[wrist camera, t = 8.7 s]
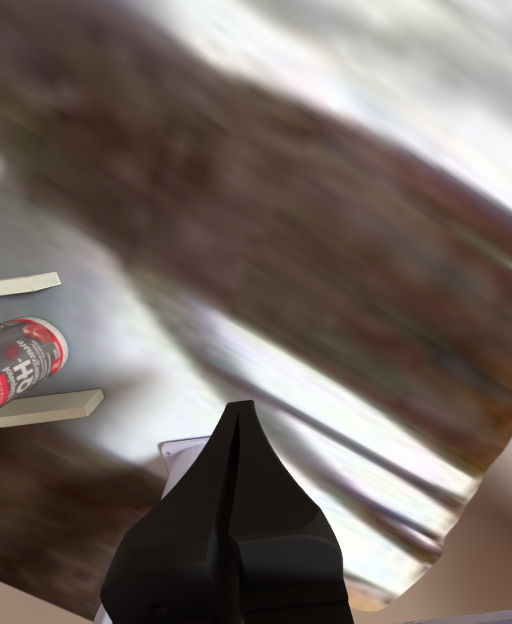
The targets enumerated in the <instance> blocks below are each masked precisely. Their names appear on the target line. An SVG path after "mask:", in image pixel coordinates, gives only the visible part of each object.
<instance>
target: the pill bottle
mask: <svg viewBox="0 0 512 624" xmlns="http://www.w3.org/2000/svg"><path fill="white" fill-rule="evenodd" d="M67 357H68V347H67V343H66V341H65V339H64V337H63V336H62V334H61V333H60V332H59V331H58V330H57V329H56V328H55V327H54V326H53V325H51V324H50V323H48V322H46V321H44V320H42V319H39V318H32V317H22V318H18V319H15V320H12V321H9V322H6V323H2V324H0V408H2V407H3V406H5V405H6V404H8V403H9V402H11V401H12V400H14V399H15V398H17V397H18V396H20V395H22V394H23V393H25V392H26V391H28V390H29V389H31V388H33V387H34V386H36V385H37V384H38V383H40V382H42V381H43V380H45V379H46V378H48V377H50V376H51V375H52V374H54V373H55V372H57V371H58V370H60V369H61V368H62V367H63V366H64V364H65V362H66V360H67Z"/></svg>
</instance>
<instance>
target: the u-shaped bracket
mask: <svg viewBox="0 0 512 624" xmlns="http://www.w3.org/2000/svg"><path fill="white" fill-rule="evenodd" d="M59 284H61V283H60V280H59V277H58V275H57V272H50V273H43V274H35V275H28V276H20V277H12V278H5V279H0V295H8V294H16V293H23V292H31V291H37V290H40V289H44V288H48V287H52V286H56V285H59ZM104 398H105V397H104V395H103V392H102V389H94V390H87V391H79V392H71V393H63V394H55V395H47V396H39V397H31V398H23V399H16V400H12V401H11V402H9V403H8V404H6V405H5V406H3V407H2V408H0V428H1V427H9V426H17V425H25V424H33V423H41V422H49V421H57V420H65V419H73V418H81V417H88V416H89V415H90V414H91V412H92V411H93V410H94V409H95V408H96V407H97V406H98V404H99V403H100V402H101V401H102V400H103V399H104Z"/></svg>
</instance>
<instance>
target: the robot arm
mask: <svg viewBox="0 0 512 624" xmlns="http://www.w3.org/2000/svg"><path fill="white" fill-rule="evenodd" d="M161 451H162V454H163V457H164V460H165V463H166V466H167V469H168V473H169V477H168V480H167V483H166V486H165V489H164V492H163V495H162V498H161V501H160V502H159V503H158V504H157V505H156V506H155V507H154V508H153V509H152V510H151V511H150V512H149V513H148V514H146V515H145V516H144V517H143V518H142V519H141V520H140V521H139V522H138V523H136V524H135V525H134V526H133V527H132V528H131V529H130V530H128V531H127V532H126V533H125V535H124V538H123V540H122V541H121V543H120V545H119V547H118V549H117V551H116V553H115V556H114V558H113V560H112V563H111V565H110V568H109V570H108V572H107V575H106V577H105V580H104V582H103V584H102V587H101V590H100V598H101V602H102V603H101V606H100V608H99V610H98V612H97V615H96V617H95V619H94V622H93V624H354V621H353V617H352V614H351V610H350V606H349V603H348V594H347V590H346V587H345V583H344V579H343V557H342V552H341V549H340V546H339V544H338V541H337V539H336V536H335V534H334V532H333V530H332V528H331V526H330V524H329V523H328V521H327V519H326V517H325V515H324V514H323V512H322V510H321V508H320V507H319V506H318V505H317V504H316V503H315V502H314V501H313V500H312V499H311V498H310V497H309V496H308V495H307V494H306V493H305V492H304V490H303V489H302V488H301V487H300V486H299V485H298V483H297V482H296V481H295V480H294V478H293V477H292V476H291V475H290V473H289V472H288V471H287V469H286V468H285V467H284V465H283V464H282V462H281V461H280V459H279V458H278V456H277V455H276V453H275V452H274V450H273V448H272V447H271V445H270V443H269V441H268V439H267V438H266V436H265V434H264V432H263V429H262V427H261V425H260V423H259V420H258V417H257V414H256V411H255V405H254V401H253V400H246V401H238V402H230V403H228V404H227V405H226V408H225V410H224V412H223V414H222V416H221V418H220V420H219V422H218V424H217V426H216V428H215V430H214V431H213V433H212V435H211V437H208V438H200V439H192V440H184V441H176V442H168V443H164V444H163V445H162V447H161ZM167 451H168V452H167ZM398 624H512V610H508V611H500V612H491V613H482V614H474V615H465V616H457V617H448V618H440V619H431V620H423V621H414V622H406V623H398Z"/></svg>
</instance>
